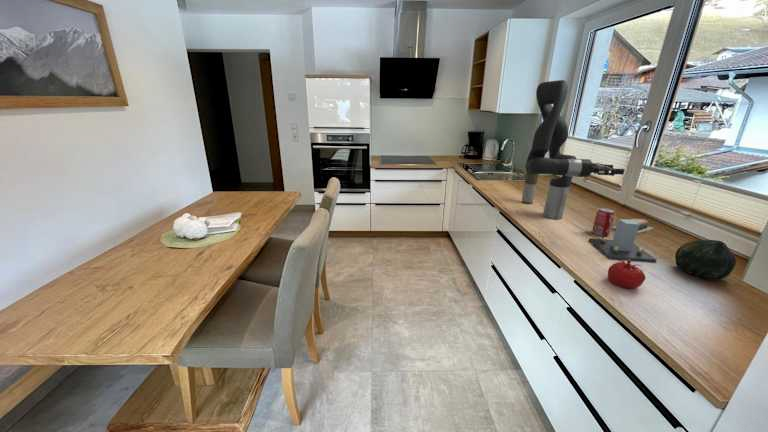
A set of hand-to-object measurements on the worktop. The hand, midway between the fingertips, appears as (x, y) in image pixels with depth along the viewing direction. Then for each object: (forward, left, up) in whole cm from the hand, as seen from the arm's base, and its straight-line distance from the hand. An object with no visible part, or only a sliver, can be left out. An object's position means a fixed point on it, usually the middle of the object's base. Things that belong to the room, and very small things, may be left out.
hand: (617, 169), depth 129 cm
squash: (+30, -17, -32) cm, 47 cm away
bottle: (-35, +39, -32) cm, 62 cm away
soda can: (+1, +7, -32) cm, 33 cm away
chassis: (+7, -10, -32) cm, 34 cm away
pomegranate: (+5, -40, -32) cm, 51 cm away
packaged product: (+15, +22, -33) cm, 42 cm away
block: (+7, -10, -31) cm, 33 cm away
